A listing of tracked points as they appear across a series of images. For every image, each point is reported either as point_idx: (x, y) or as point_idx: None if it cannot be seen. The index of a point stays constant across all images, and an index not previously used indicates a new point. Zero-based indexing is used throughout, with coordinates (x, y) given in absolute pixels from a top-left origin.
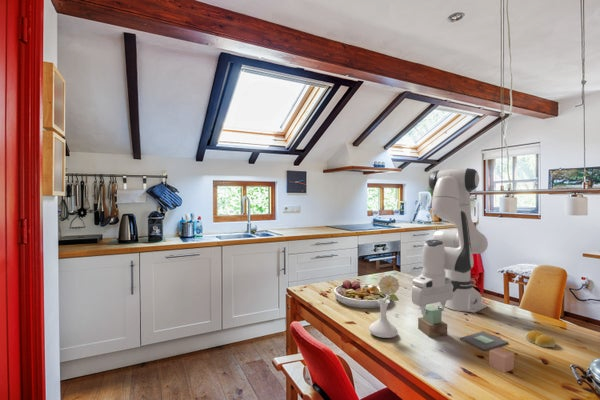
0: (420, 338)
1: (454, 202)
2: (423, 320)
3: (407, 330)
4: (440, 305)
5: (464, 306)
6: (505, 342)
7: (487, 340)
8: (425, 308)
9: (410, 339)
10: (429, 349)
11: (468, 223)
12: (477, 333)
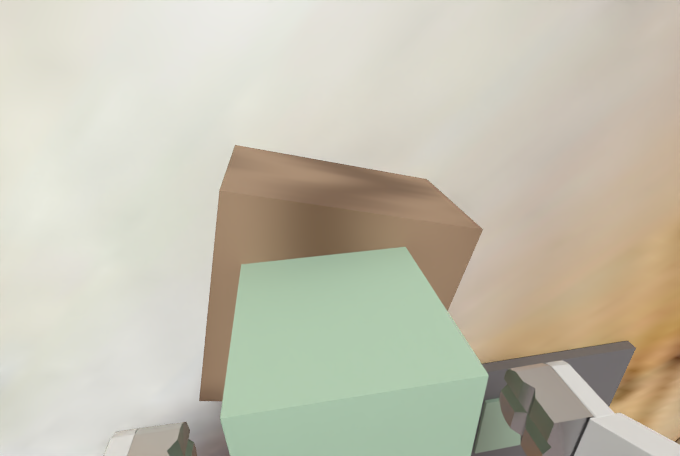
0: (120, 311)
1: None
2: (226, 288)
3: (73, 140)
4: (602, 448)
5: None
6: None
7: (517, 434)
8: (246, 448)
9: (3, 305)
10: (90, 436)
11: None
12: (573, 362)
